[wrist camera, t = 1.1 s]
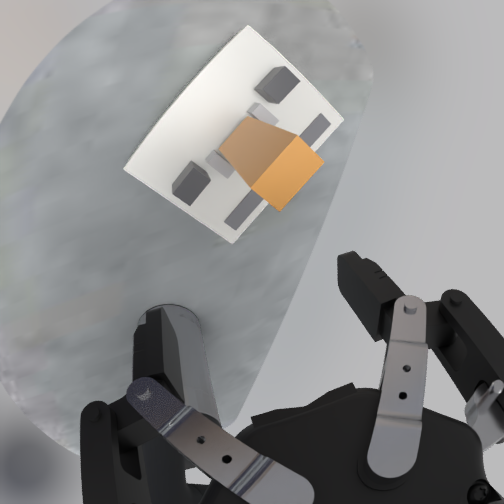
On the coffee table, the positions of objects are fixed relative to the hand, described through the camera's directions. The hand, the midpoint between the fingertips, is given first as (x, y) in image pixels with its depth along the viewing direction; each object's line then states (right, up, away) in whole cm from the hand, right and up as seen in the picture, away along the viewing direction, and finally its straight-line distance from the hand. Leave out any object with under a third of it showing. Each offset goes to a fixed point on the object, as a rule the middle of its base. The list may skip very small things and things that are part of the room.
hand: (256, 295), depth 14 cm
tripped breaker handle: (-1, +12, +14) cm, 19 cm away
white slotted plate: (-3, +15, +20) cm, 25 cm away
